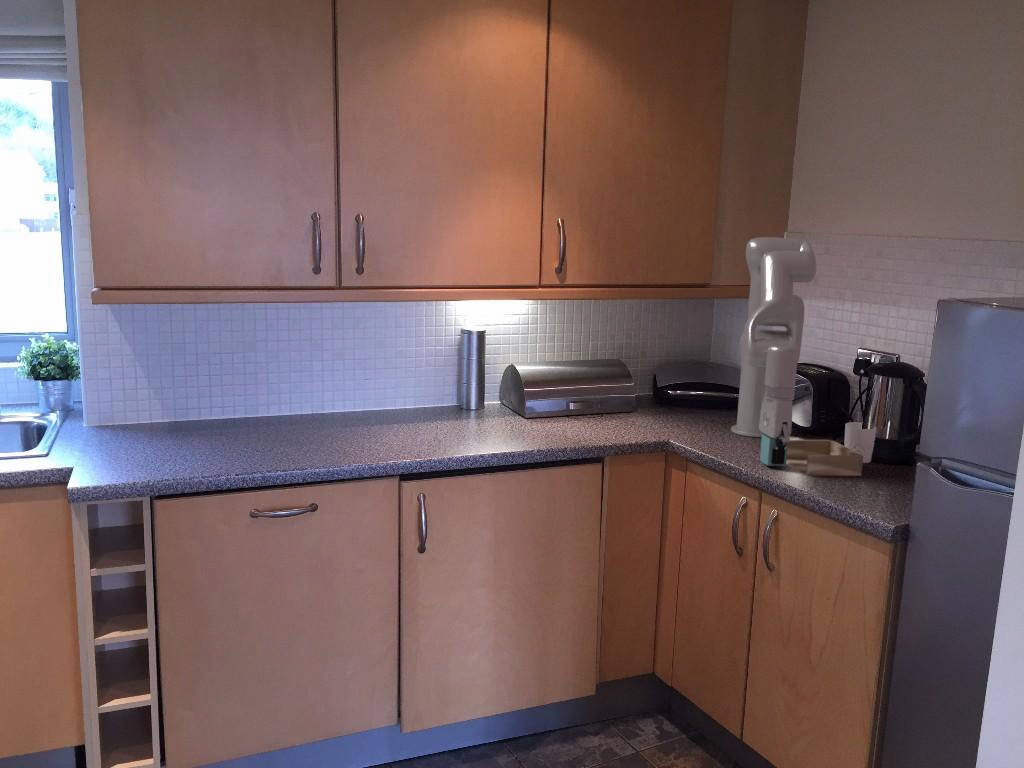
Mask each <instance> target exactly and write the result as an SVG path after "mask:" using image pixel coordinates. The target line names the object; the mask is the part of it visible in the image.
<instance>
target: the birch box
mask: <svg viewBox="0 0 1024 768" xmlns="http://www.w3.org/2000/svg"><path fill="white" fill-rule="evenodd" d="M786 463H787V464H789V465H790V466H793V467H794V468H795V469H797V470H798V471H800V472H801V473H803V474H805V475H806V476H808V477H810V476H811V477H812V476H814V477H817V476H818V477H827V476H828V477H830V476H831V477H833V476H835V477H836V476H837V477H838V476H845V477H847V476H848V477H849V476H851V477H854V476H860V477H861V476H862V473H863V465H864V463H863V456H862V455H860V454H858V453H856V452H854V451H852V450H850V449H849V448H847V447H845V446H844V445H843V444H841V443H839V442H837V441H835V440H834V439H790V441H789V443H788V450H787V461H786Z"/></svg>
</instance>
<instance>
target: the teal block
mask: <svg viewBox="0 0 1024 768" xmlns="http://www.w3.org/2000/svg"><path fill="white" fill-rule="evenodd" d="M778 437H782V435H778ZM779 441H781V440H778V443H779ZM760 443H761V444H760V455H759V461H760V462H761V463H763V464H764V465H765V466H770V467H772V466H774V467H775V466H776V467H777V466H783V467H784V466H785V467H786V466H787V462H786V461H787V450H788V444H787V446H786V450H785V458H784V464H772V463H771V461H772V449H774V438H771V437H769V436H767V435H766V434H762V437H761V442H760Z"/></svg>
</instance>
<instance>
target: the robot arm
mask: <svg viewBox="0 0 1024 768" xmlns="http://www.w3.org/2000/svg"><path fill="white" fill-rule="evenodd" d="M745 260H746V263H747V267H748V270H749V271H748V272H749V274H750V275H749V276H750V285H749V298H748V309H747V311H748V313H747V315H748V316H747V317H748V319H747V321H746V323H745V326H744V328H743V329H744V330H743V333H742V335H741V337H740V340H739V341H740V342H739V350H740V380H739V390H738V391H739V393H738V403H737V404H738V405H737V418H736V424H733V425H731V428H730V431H731V432H732V433H733V434H736V435H739V436H740V435H741V436H744V437H745V436H746V437H751V438H762V434H766V435H767V436H769V437H771V438H774V449H772V461H771V463H772V464H784V458H785V450H786V446H787V444H788V443H789V441H790V440H791V438H790V437H791V434H792V428H793V427H792V426H793V425H792V423H793V401H794V400H795V391H796V379H797V367H798V363H799V361H800V357H801V348H802V340H803V334H804V333H803V331H804V322H805V303H804V300H803V298H802V297H801V296H799V295H796V294H794V283H805V284H806V283H811V282H812V281H813V280H814V279H815V277H816V274H817V259H816V255H815V252H814V250H813V248H812V246H811V243H810V241H809V240H807V239H804V238H796V237H795V238H793V237H769V236H768V237H766V236H764V237H763V236H762V237H754V238H752V239H750V240H749V241H747V243H746V248H745ZM757 326H761V327H762V326H765V327H781V328H782V327H783V328H786V330H776V329H764V328H763V329H761V328H760V329H759V328H758V329H757ZM778 435H782V437H778ZM778 440H781V441H779V443H778Z"/></svg>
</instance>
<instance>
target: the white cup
mask: <svg viewBox="0 0 1024 768" xmlns="http://www.w3.org/2000/svg"><path fill="white" fill-rule="evenodd" d="M862 423H863V422H857V421H852V422H847V423H845V424H844V425H845V427H844V442H843V443H844V445H843V446H845V447H847V448H849V449H850V450H852V451H854V452H856V453H858V454H860V455H862V456H863V464H868V463H871V461H872V458H873V457H872V456H873V455H872V454H873V451H874V447H875V442H874V441H875V440H876V435H877V429H876V428H873V429H862ZM875 434H876V435H875Z"/></svg>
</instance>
